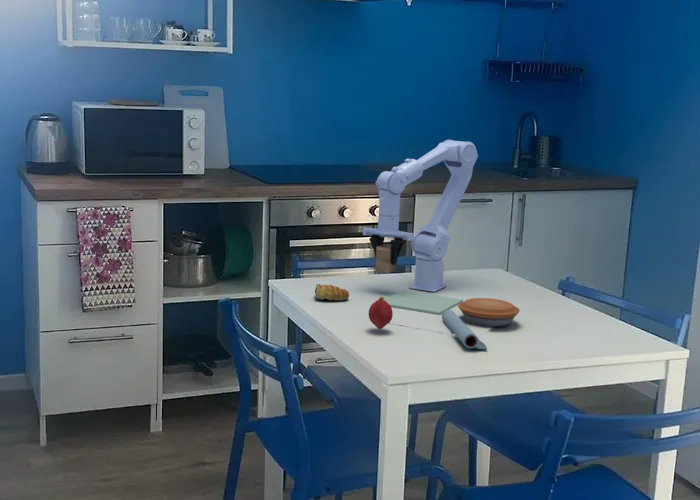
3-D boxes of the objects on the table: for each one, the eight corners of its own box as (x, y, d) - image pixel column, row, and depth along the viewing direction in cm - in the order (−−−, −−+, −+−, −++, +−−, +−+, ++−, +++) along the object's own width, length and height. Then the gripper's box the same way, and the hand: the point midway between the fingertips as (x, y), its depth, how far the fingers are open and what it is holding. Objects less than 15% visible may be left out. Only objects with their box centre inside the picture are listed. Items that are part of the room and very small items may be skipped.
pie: (520, 317, 231) (522, 298, 230) (515, 331, 216) (517, 312, 215) (461, 311, 235) (463, 292, 234) (452, 324, 220) (454, 305, 219)
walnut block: (382, 268, 251) (384, 244, 250) (395, 270, 249) (397, 245, 248) (375, 271, 247) (376, 246, 246) (388, 273, 245) (389, 248, 244)
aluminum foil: (441, 322, 223) (441, 309, 222) (466, 323, 224) (467, 309, 223) (463, 348, 201) (464, 334, 200) (491, 349, 202) (493, 334, 201)
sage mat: (402, 292, 253) (403, 290, 252) (462, 301, 245) (463, 299, 245) (376, 304, 237) (376, 302, 236) (439, 314, 229) (439, 312, 229)
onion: (364, 326, 214) (365, 293, 213) (385, 325, 216) (387, 293, 215) (373, 332, 209) (374, 299, 207) (395, 331, 211) (397, 298, 209)
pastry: (347, 297, 243) (348, 283, 243) (350, 302, 236) (351, 288, 236) (313, 295, 242) (314, 281, 241) (315, 300, 235) (315, 286, 235)
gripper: (359, 213, 245) (356, 261, 247) (407, 219, 239) (404, 268, 241) (370, 211, 251) (367, 258, 254) (417, 216, 245) (414, 264, 247)
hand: (386, 263), depth 248 cm, fingers closed on walnut block, 4 cm apart
